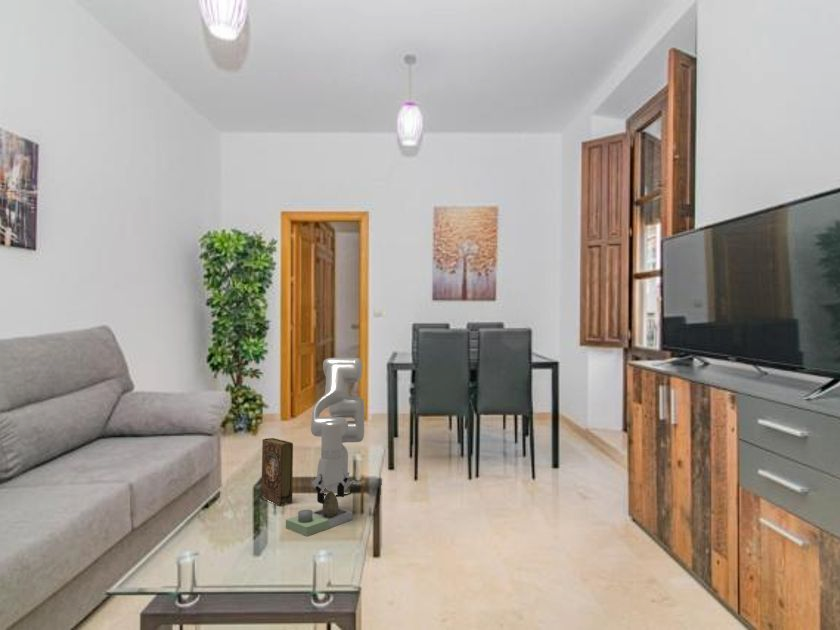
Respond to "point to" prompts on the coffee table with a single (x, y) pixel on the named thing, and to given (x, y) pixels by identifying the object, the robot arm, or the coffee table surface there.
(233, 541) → the coffee table surface
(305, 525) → the deck
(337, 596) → the coffee table surface
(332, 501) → the decorative egg
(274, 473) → the book
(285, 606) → the coffee table surface
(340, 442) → the robot arm
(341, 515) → the tray
